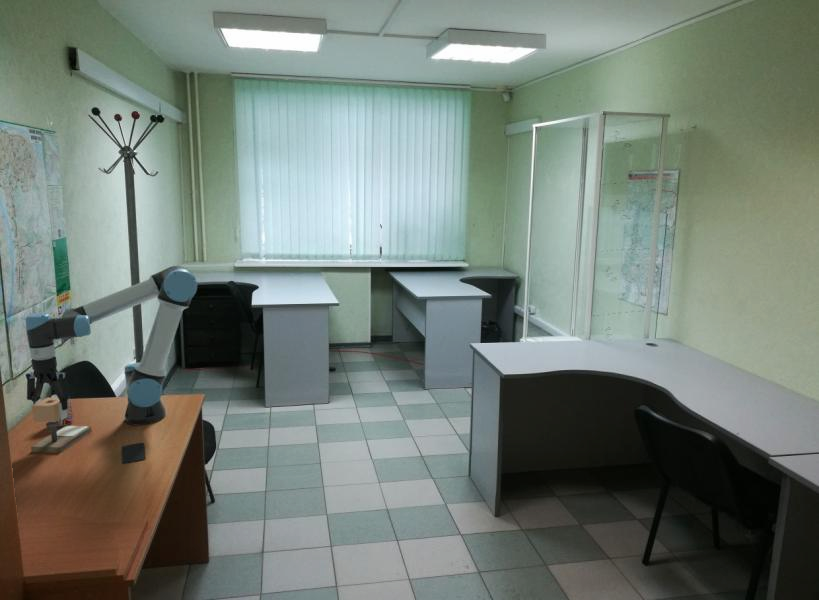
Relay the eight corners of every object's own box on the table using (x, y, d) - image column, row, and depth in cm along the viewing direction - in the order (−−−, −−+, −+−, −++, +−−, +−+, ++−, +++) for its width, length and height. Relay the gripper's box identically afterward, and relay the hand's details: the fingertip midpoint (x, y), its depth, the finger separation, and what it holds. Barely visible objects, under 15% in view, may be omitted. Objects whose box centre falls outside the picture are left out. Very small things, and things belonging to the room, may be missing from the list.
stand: (91, 432, 228) (86, 392, 225) (60, 452, 211) (54, 410, 207) (64, 431, 229) (59, 391, 226) (31, 451, 212) (25, 409, 208)
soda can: (64, 428, 232) (60, 398, 230) (48, 426, 234) (44, 397, 231) (77, 421, 239) (73, 392, 237) (62, 420, 241) (58, 391, 238)
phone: (121, 463, 201) (121, 446, 214) (122, 465, 201) (121, 448, 214) (145, 458, 204) (144, 442, 217) (145, 461, 204) (144, 444, 217)
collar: (70, 413, 217) (67, 397, 216) (55, 421, 210) (53, 405, 208) (49, 413, 218) (47, 397, 217) (34, 421, 210) (31, 405, 209)
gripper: (7, 360, 207) (17, 421, 211) (64, 360, 205) (73, 422, 209) (23, 354, 214) (32, 413, 219) (78, 354, 212) (86, 414, 217)
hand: (52, 418), depth 214 cm, fingers closed on collar, 8 cm apart
